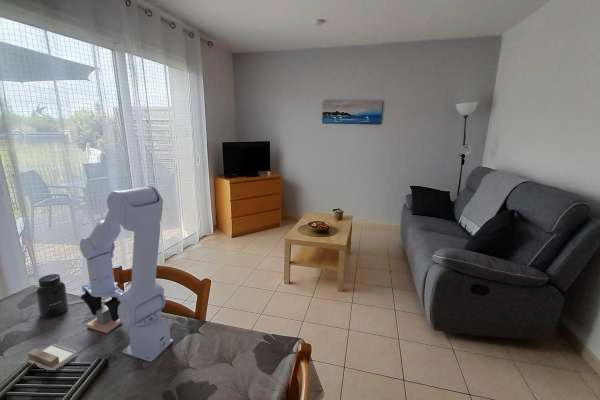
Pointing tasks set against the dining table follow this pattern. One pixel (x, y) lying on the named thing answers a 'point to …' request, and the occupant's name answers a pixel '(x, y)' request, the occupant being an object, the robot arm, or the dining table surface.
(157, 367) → the dining table surface
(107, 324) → the grey and peach block
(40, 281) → the supplement bottle
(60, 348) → the board
